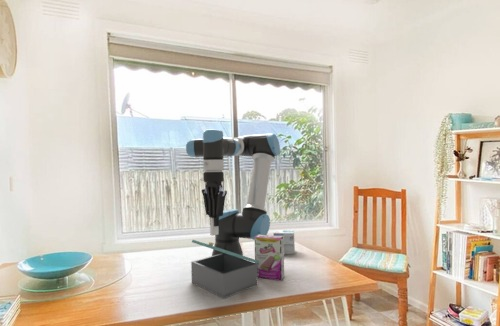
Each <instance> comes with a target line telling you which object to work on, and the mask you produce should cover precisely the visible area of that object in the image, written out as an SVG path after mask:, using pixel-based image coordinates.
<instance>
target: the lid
mask: <svg viewBox="0 0 500 326" xmlns="http://www.w3.org/2000/svg"><path fill="white" fill-rule="evenodd" d="M191 243H193V244H196V245H199V246H202V247H206V248H208V249H211V250H213V249H214V250H217V251H220V252H223V253H226V254H229V255H232V256H236V257H239V258H242V259H244V260H247V261H250V262H253V263H258V260H255V258H251V257H248V256H245V255H243V256H242V255H239V254H236V253H233V252H230V251H227V250H224V249H221V248H217V247H214V245H215V242H214V243H213V242H211V241H209V242H208V244H207V243H204V242H201V241H198V240H195V239H192V240H191Z"/></svg>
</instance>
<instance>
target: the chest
mask: <svg viewBox="0 0 500 326" xmlns="http://www.w3.org/2000/svg"><path fill="white" fill-rule="evenodd" d="M190 264H191V265H190V266H191V283H192V284H194V285H196V286H198V287H200V288H202V289H204V290H206V291H208V292H209V293H212V294H213V295H216V296H218V297H219V298H222V299H227V298H228V297H231V296H234V295H236V294H238V293H241V292H243V291H246V290H248V289H251V288H253V287H256V286H258V278H257V264H256V263H255V262H251V261H248V260H245V259H241V258H238V257H235V256H232V255H229V254H226V253H222V254H218V255H214V256H212V255H210V256H208V257H205V258H204V257H203V258H200V259H197V260H193V261H191V262H190Z"/></svg>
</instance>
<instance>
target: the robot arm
mask: <svg viewBox="0 0 500 326" xmlns="http://www.w3.org/2000/svg"><path fill="white" fill-rule="evenodd" d="M280 145H281V144H280V142H279V138H278V136H277V135H276V134H275V133H267V132H266V133H262V134H261V133H260V134H259V133H257V134H245V135H242V136H233V137H227V136H224V131H223V130H221V129H206V130H204V131H203V133H202V138H198V139H197V138H194V139H190V140H188V141H187V142H186V145H185V151H186V154H187V155H188V157H191V158H203V159H202V160H203V163H202V164H203V171H204V172H203V182H204V183H205V188H203V189H201V193H202V198H203V204H204V211H205V215H207V216H208V217H209V226H210V227H209V228H210V229H209V232H210V236H214V238H215V239H214V244H213V246H214V247H217V248H221V249H224V250H227V251H230V252H233V253H236V254H239V255H242V256H244V251H243V249H242V246H241V242H240V239H249V240H251V239H252V240H254V241H255V236H257V235H268V233H269V230H270V228H271V218H270V216H269V215H268V211H267V210H266V208H265V206H266V200H267V194H268V193H267V192H268V185H269V179H270V178H269V177H270V172H271V171H270V170H271V164H272V163H273V162H275V157H279V155H280V152H281V146H280ZM234 156H235V157H237V156H241V157H251V158H252V160H253V164H252V165H253V168H252V172H251V178H250V184H249V189H248V195H247V201H246V205H245V206H244V207H242V211H241V212H240V211H239V209H238V208H237V209H236V208H232V209H225V210H224V208H225V200H226V197H227V194H228V191H227V190H224V189H223V185H222V182H224V180H225V178H224V177H225V175H224V174H225V173H224V170H225V169H224V167H225V166H224V165H225V164H224V163H225V162H224V157H230V158H231V157H234ZM222 253H223V252H220V251H217V250H214V249H212V252H211V256H214V255H218V254H222ZM235 257H236V256H235ZM238 258H239V257H238ZM241 259H242V258H241Z"/></svg>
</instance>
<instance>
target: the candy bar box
mask: <svg viewBox="0 0 500 326" xmlns="http://www.w3.org/2000/svg"><path fill="white" fill-rule="evenodd" d="M254 260H258V263H256V264H257V279H258V278H259V279H267V280H274V281H275V280H276V281H283V279H284V277H285V254H284V237H283V236H273V235H270V234H267V235H257V236H255V240H254Z"/></svg>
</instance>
